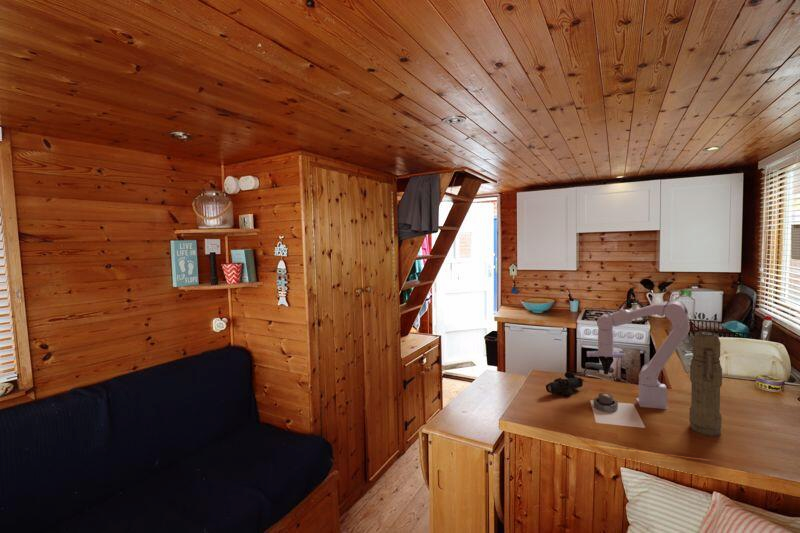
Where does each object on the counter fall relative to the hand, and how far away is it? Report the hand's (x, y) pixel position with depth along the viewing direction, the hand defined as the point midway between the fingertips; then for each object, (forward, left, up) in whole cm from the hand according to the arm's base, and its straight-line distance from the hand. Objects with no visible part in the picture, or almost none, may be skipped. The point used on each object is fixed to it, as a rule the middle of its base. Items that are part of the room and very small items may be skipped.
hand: (605, 373), depth 167 cm
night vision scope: (+17, +1, -10) cm, 19 cm away
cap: (+2, +13, -9) cm, 16 cm away
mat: (-1, +17, -10) cm, 20 cm away
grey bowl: (+2, +13, -10) cm, 16 cm away
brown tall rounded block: (-28, +23, -10) cm, 38 cm away
